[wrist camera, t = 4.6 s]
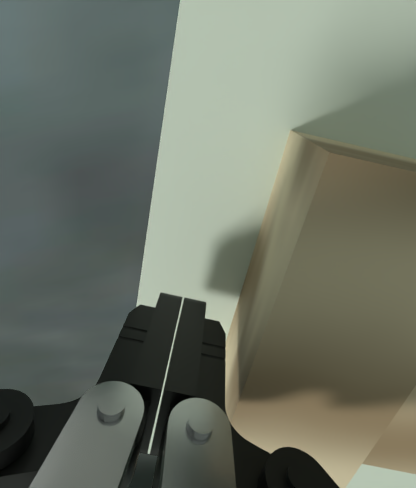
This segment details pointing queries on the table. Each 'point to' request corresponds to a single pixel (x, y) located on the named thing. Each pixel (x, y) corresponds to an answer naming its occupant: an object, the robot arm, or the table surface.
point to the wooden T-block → (330, 312)
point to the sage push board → (266, 133)
